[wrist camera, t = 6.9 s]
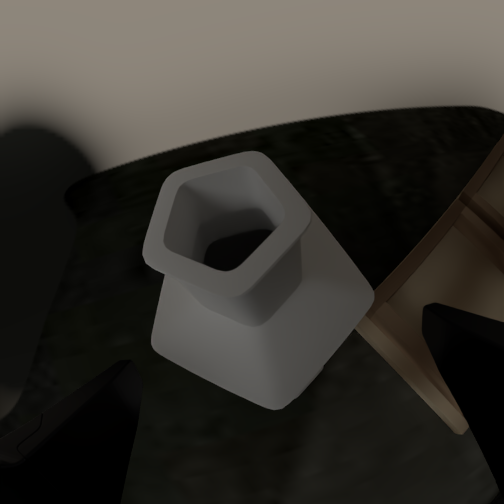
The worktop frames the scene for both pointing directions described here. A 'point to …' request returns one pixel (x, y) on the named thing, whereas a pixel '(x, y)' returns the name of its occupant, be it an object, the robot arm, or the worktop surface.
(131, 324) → the worktop surface
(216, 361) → the perfume bottle
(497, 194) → the divided wooden tray
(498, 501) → the button housing
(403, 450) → the worktop surface
